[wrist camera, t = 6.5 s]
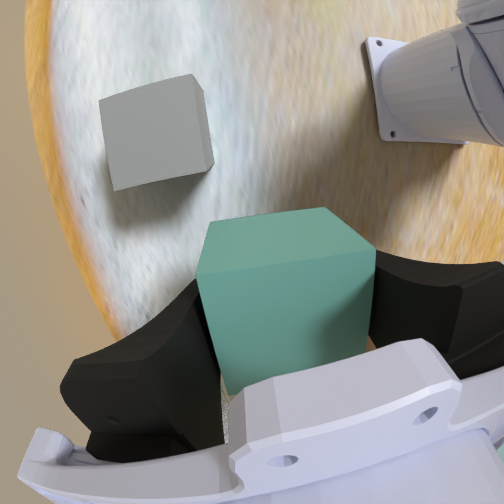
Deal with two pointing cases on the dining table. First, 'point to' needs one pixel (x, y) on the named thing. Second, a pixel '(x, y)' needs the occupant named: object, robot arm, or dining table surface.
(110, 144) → the slate block
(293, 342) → the teal block
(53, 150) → the dining table surface
